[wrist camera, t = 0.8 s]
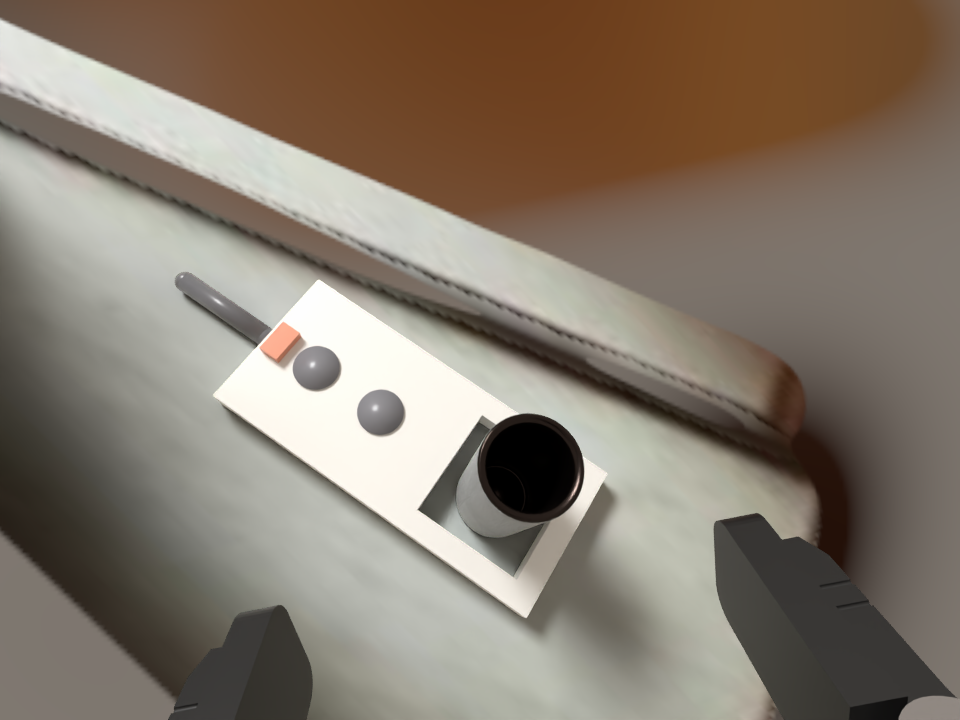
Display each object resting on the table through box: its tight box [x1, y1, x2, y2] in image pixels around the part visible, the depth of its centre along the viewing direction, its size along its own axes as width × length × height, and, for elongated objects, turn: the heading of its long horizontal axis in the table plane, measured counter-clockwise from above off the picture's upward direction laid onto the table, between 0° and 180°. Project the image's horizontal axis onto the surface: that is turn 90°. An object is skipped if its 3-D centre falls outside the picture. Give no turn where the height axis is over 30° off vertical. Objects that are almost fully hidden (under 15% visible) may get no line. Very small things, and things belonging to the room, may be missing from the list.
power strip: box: [175, 272, 608, 618], centre depth 33 cm, size 28×9×2 cm, turn 57°
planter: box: [456, 413, 584, 538], centre depth 28 cm, size 4×4×10 cm
